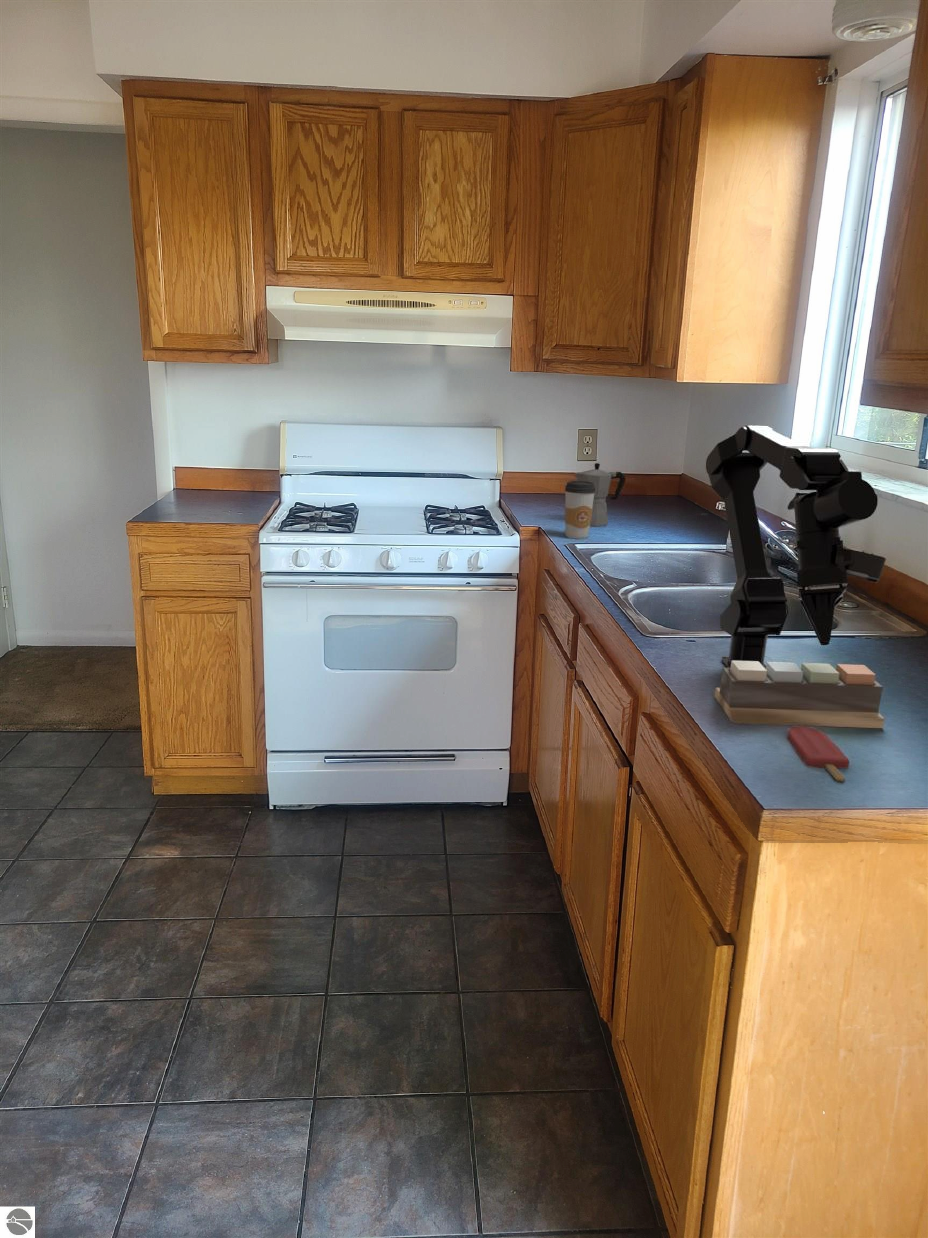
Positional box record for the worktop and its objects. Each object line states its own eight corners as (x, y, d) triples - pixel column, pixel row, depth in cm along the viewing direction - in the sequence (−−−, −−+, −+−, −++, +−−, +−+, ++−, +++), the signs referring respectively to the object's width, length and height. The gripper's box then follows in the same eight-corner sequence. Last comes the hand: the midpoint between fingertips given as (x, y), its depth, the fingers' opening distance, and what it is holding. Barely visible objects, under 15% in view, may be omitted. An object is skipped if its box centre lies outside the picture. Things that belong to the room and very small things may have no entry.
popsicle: (820, 773, 111) (781, 724, 126) (818, 785, 112) (780, 734, 126) (864, 775, 111) (820, 726, 126) (862, 786, 112) (818, 736, 126)
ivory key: (729, 679, 134) (731, 660, 133) (755, 680, 134) (758, 661, 133) (736, 689, 130) (739, 669, 129) (764, 690, 130) (766, 670, 129)
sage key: (798, 681, 134) (801, 662, 133) (825, 682, 134) (828, 663, 133) (808, 691, 130) (811, 672, 129) (836, 692, 130) (839, 673, 129)
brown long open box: (714, 696, 138) (718, 662, 136) (854, 701, 138) (860, 667, 136) (732, 723, 128) (737, 687, 127) (882, 728, 128) (889, 692, 127)
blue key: (764, 680, 134) (766, 661, 133) (790, 681, 134) (793, 662, 133) (772, 690, 130) (775, 671, 129) (800, 691, 130) (803, 672, 129)
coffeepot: (573, 526, 264) (578, 464, 258) (567, 520, 273) (571, 460, 267) (625, 527, 265) (631, 465, 260) (617, 521, 274) (622, 461, 269)
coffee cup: (567, 540, 245) (571, 485, 241) (557, 533, 253) (560, 480, 248) (596, 539, 247) (600, 484, 242) (585, 533, 255) (589, 480, 250)
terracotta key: (833, 683, 134) (837, 664, 133) (860, 684, 134) (864, 665, 133) (844, 693, 130) (847, 673, 129) (872, 694, 130) (875, 674, 129)
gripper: (884, 516, 118) (893, 636, 116) (874, 539, 135) (882, 643, 133) (793, 525, 122) (801, 641, 120) (795, 546, 139) (802, 647, 137)
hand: (825, 643), depth 128 cm, fingers open, 9 cm apart
